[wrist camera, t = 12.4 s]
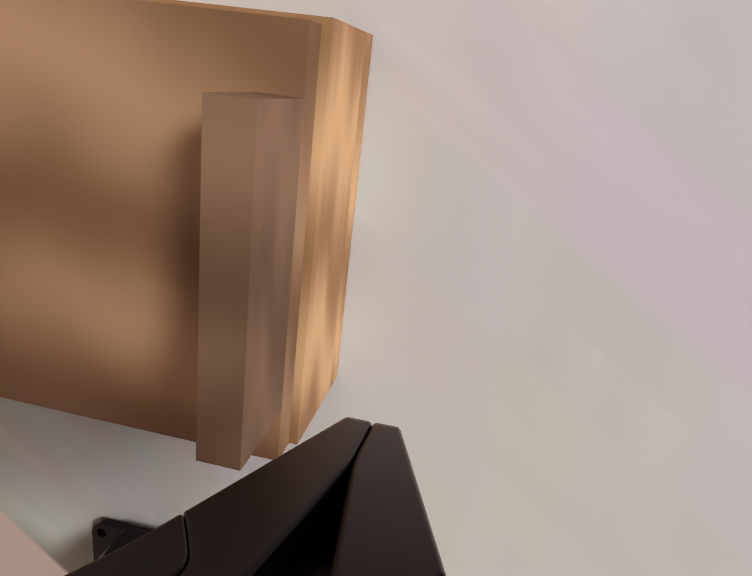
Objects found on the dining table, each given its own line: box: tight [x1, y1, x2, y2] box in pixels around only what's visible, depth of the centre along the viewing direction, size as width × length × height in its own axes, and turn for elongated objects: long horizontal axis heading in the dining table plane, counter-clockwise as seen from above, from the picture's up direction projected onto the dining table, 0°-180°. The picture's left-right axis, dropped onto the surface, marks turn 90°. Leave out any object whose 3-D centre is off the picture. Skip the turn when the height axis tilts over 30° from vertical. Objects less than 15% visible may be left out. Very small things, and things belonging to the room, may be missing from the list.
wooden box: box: [139, 0, 373, 444], centre depth 21 cm, size 13×12×5 cm
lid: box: [0, 0, 322, 470], centre depth 16 cm, size 13×12×4 cm
